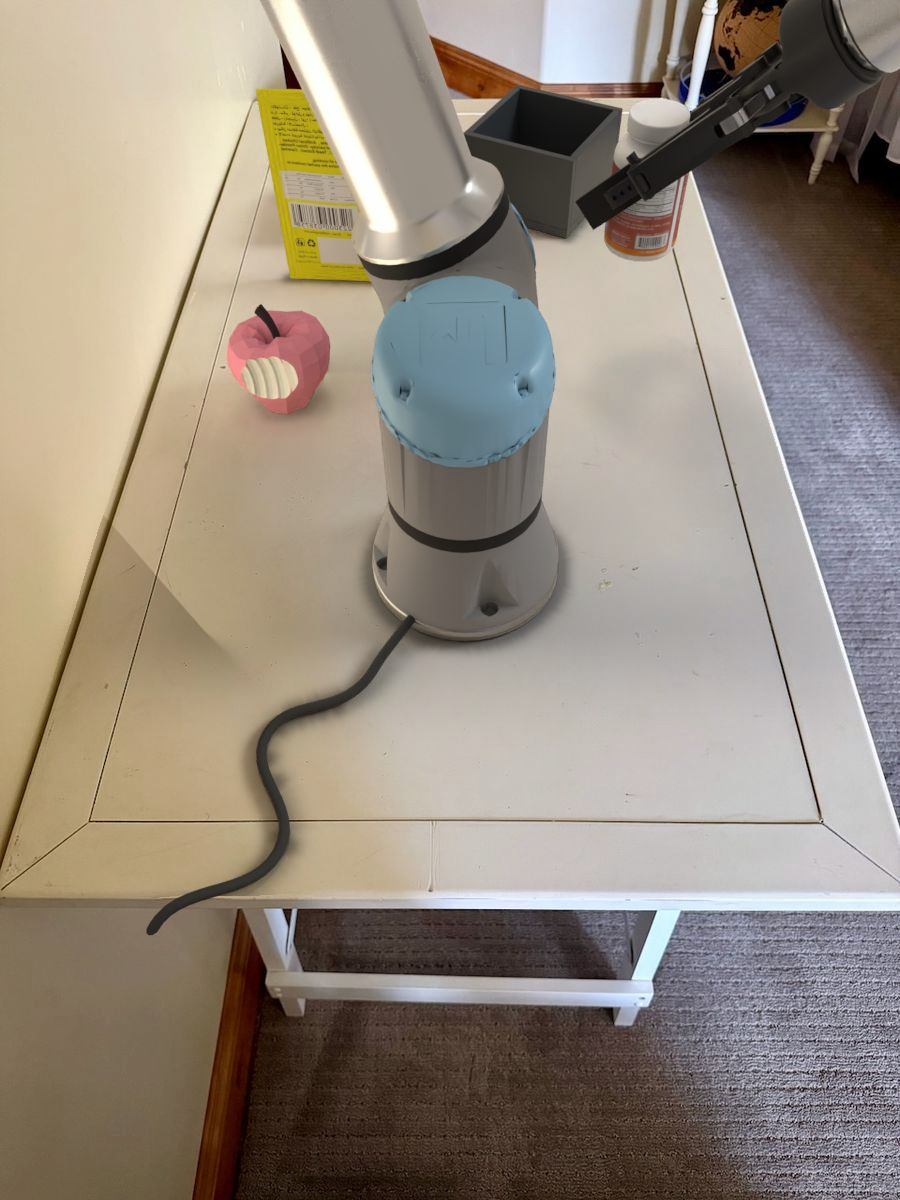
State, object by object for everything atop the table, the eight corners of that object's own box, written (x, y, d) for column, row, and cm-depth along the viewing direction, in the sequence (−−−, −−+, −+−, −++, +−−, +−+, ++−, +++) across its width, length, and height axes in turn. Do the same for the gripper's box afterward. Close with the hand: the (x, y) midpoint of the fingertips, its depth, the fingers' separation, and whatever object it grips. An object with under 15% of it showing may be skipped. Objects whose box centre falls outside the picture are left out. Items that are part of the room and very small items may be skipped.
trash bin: (566, 238, 104) (573, 161, 96) (463, 209, 108) (462, 133, 101) (613, 184, 111) (622, 108, 103) (514, 158, 115) (517, 84, 108)
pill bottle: (631, 217, 80) (650, 85, 72) (689, 242, 78) (716, 109, 69) (588, 246, 78) (603, 113, 69) (646, 273, 75) (669, 139, 66)
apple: (229, 427, 85) (204, 340, 77) (254, 369, 90) (233, 281, 82) (327, 436, 84) (312, 348, 76) (347, 376, 90) (335, 288, 82)
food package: (427, 281, 99) (418, 90, 83) (426, 287, 98) (417, 95, 82) (291, 275, 100) (256, 86, 84) (289, 281, 100) (254, 91, 84)
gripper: (839, 135, 54) (575, 288, 73) (931, 23, 64) (677, 184, 82) (779, 18, 52) (522, 208, 70) (884, -81, 61) (633, 110, 80)
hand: (606, 195), depth 76 cm, fingers closed on pill bottle, 6 cm apart
